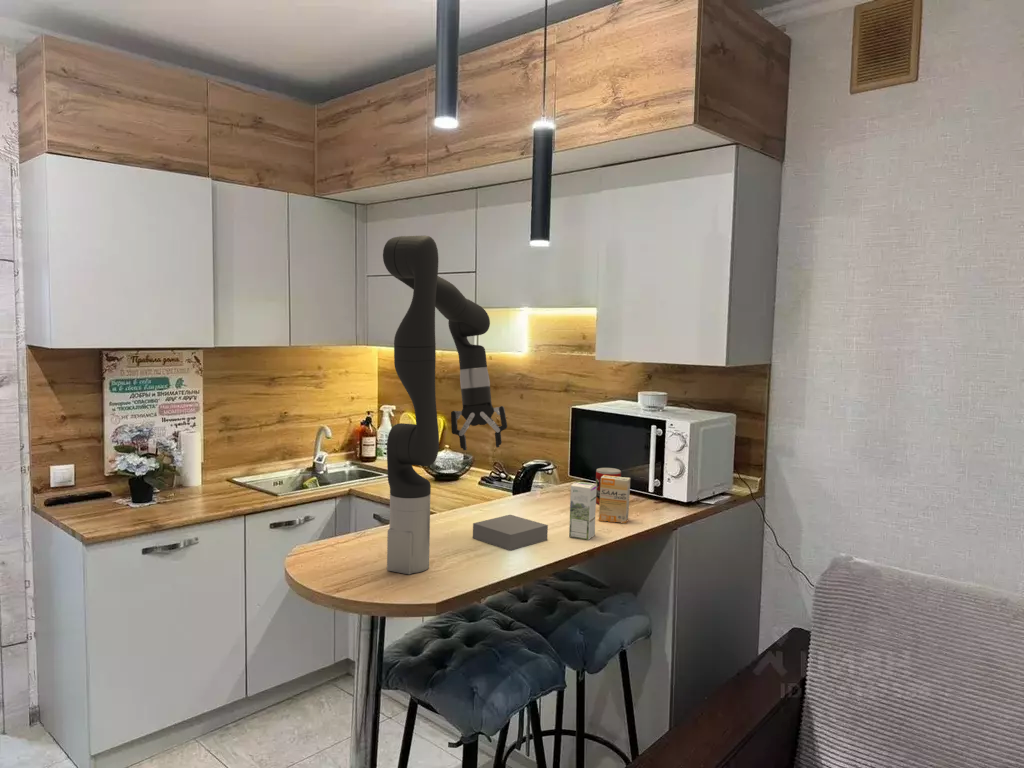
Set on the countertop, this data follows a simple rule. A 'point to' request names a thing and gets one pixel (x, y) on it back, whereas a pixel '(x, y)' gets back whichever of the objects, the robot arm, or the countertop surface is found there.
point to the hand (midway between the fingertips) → (481, 448)
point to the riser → (510, 532)
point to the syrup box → (582, 510)
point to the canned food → (599, 474)
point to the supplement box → (614, 499)
